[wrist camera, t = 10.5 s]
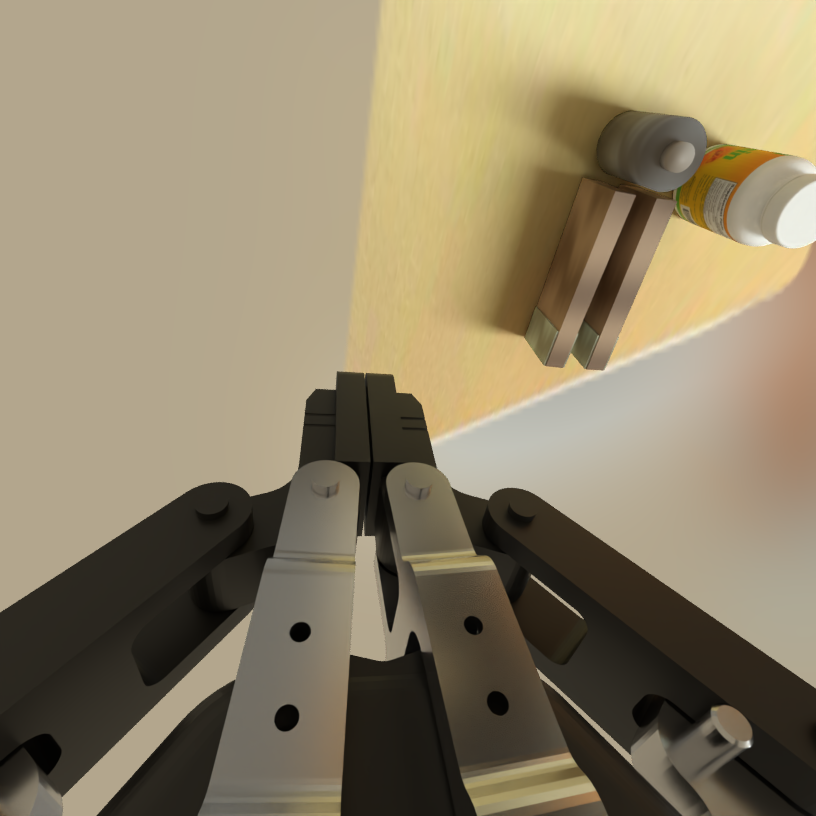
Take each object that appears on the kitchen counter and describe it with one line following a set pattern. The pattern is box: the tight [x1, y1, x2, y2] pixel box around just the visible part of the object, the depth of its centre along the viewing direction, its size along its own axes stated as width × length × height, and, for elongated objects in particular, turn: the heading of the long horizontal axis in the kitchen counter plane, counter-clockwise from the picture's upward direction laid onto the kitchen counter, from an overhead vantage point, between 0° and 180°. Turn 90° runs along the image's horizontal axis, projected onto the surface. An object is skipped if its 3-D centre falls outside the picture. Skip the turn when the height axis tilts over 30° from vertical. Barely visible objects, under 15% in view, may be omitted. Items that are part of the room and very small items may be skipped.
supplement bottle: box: [673, 144, 816, 248], centre depth 31 cm, size 5×5×10 cm
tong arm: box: [525, 178, 636, 368], centre depth 35 cm, size 13×2×5 cm, turn 170°
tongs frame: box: [571, 111, 707, 370], centre depth 34 cm, size 18×4×7 cm, turn 172°
